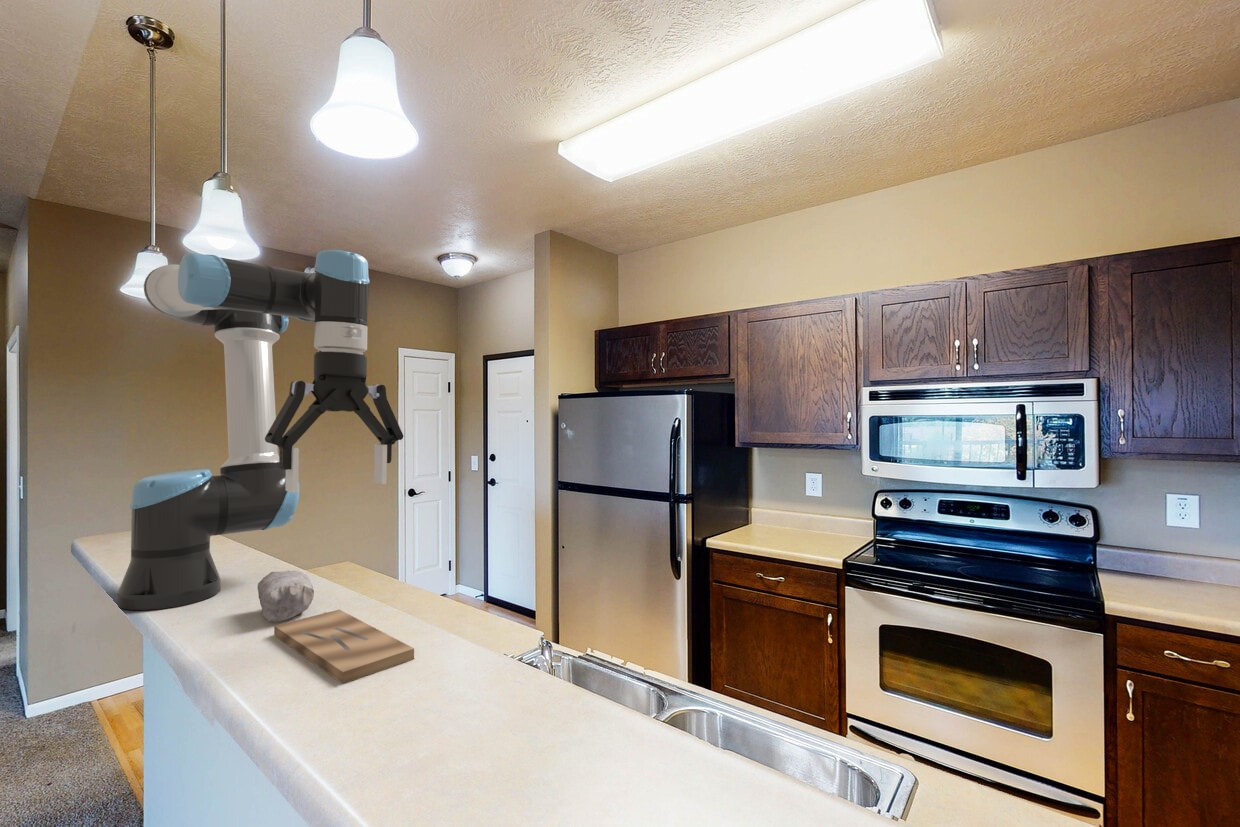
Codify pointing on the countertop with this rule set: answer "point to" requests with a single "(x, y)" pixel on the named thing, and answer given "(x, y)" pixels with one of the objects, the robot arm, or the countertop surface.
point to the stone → (284, 594)
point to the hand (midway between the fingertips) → (338, 487)
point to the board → (343, 645)
